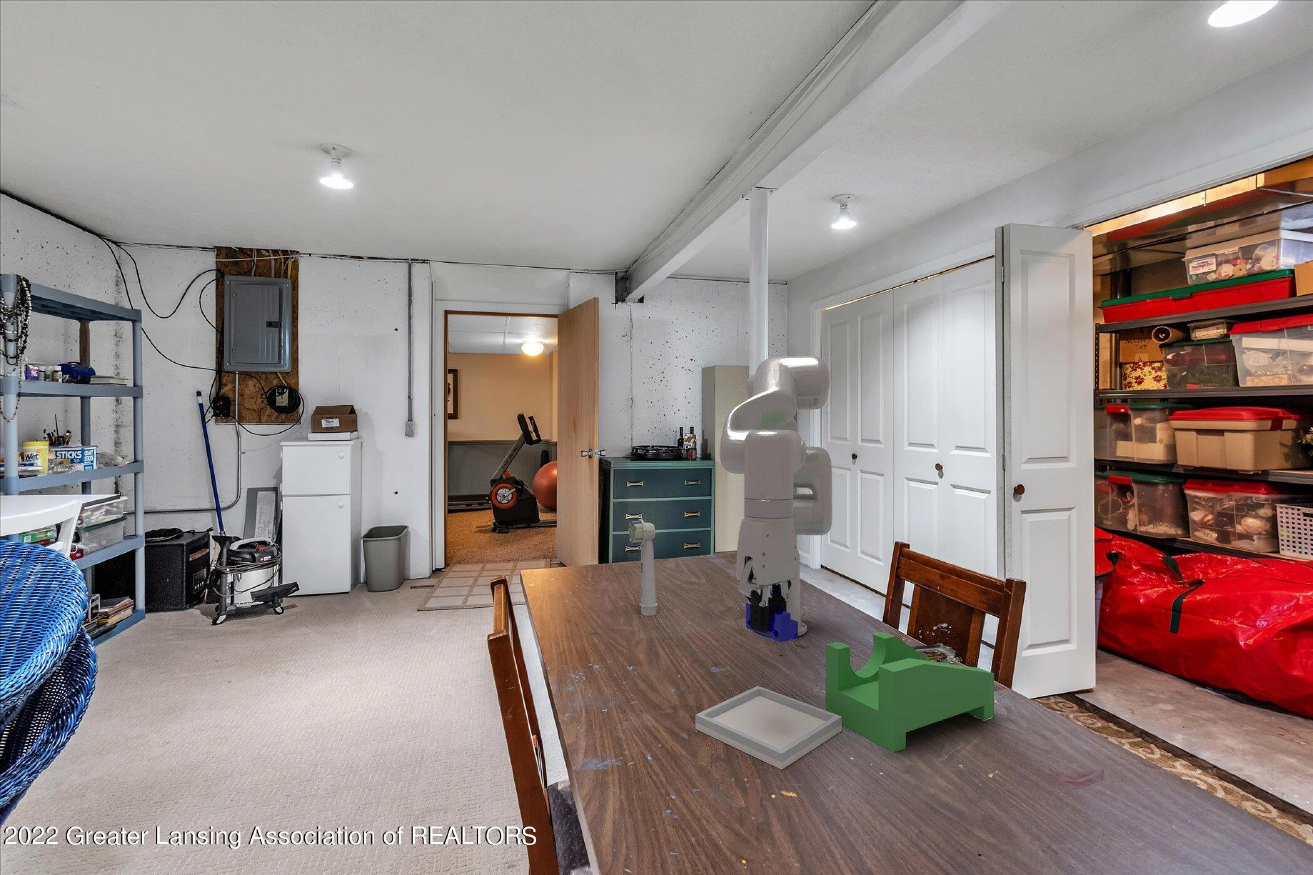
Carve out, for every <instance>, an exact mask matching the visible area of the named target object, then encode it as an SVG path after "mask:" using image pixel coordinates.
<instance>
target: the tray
mask: <svg viewBox="0 0 1313 875" xmlns="http://www.w3.org/2000/svg"><path fill="white" fill-rule="evenodd" d="M695 730H697V731H699V732H701V733H703V734H705V735H708V736H710V737H712V738H714V739H716V740H718V741H720V742H722V743H725V744H727V745H728V746H730V747H733V748H734V749H737V750H739V751H741V752H743V753H746V754H748V755H749V756H752V757H754V758H756V759H759V760H760V761H762V762H765V763H767V764H769V765H771V766H772V767H775V768H777V769H779V770H783V769H786V768H787V767H788V766H790V765H792V764H793V763H795V762H796V761H798V760H799V759H800V758H802V757H804V756H806V755H807V754H809V753H810V752H811V751H813V750H814V749H816V748H818V747H820V746H821V745H823V744H824V743H825V742H827V741H828V740H830V739H831V738H833V737H834V736H836V735H837V734H839V733H840V732H842V730H843V725H842V716H839V715H836V714H833V713H831V712H828V711H826V709H822V708H819V707H816V706H814V705H811V704H809V703H805V702H803V701H801V700H797V699H795V698H792V697H789V696H786V695H783V694H782V693H779V692H776V691H773V690H771V689H768V688H764V687H762V686H760V685H757V686H755V687H753V688H749V689H748V690H745V691H744V692H742V693H739V694H738V695H735V696H733V697H731V698H729V699H727V700H725V701H722V702H720V703H718V704H716V705H713V706H711V707H710V708H709V707H708V708H707V709H705V710H703V711H701V712H698V713H695Z"/></svg>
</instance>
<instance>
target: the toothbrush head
mask: <svg viewBox="0 0 1313 875" xmlns="http://www.w3.org/2000/svg"><path fill="white" fill-rule="evenodd" d="M628 535H629V537H630V538H629V541H630V543H631V544H632V545H639V546H640V602H639V603H638V604H639V607H640V614H641V615H642V616H645V617H646V616H647V617H651V616H655V615H656V614H657V612H658V611H657V609H658V608H657V606H658V605H659V603H658V602H657V590H656V589H657V588H656V570H655V569H656V568H655V555H654V552H655V550H654V538H655V537H656V528H655V524H653V523H651V522H644V520H643V518H642V519H641V518H640V519H639V518H638V519H637V520H635V521H633V520H631V521H630V522H629V528H628Z"/></svg>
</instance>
